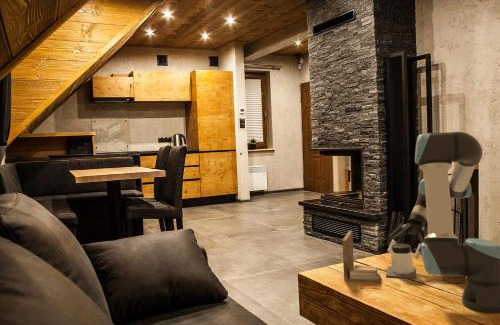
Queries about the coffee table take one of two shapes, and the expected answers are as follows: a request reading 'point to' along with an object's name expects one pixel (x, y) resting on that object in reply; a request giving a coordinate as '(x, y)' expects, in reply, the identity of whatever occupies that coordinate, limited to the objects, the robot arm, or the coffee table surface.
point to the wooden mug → (455, 279)
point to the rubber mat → (394, 275)
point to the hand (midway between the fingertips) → (402, 255)
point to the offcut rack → (358, 271)
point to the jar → (402, 259)
